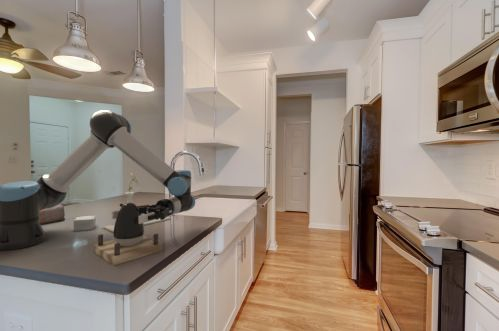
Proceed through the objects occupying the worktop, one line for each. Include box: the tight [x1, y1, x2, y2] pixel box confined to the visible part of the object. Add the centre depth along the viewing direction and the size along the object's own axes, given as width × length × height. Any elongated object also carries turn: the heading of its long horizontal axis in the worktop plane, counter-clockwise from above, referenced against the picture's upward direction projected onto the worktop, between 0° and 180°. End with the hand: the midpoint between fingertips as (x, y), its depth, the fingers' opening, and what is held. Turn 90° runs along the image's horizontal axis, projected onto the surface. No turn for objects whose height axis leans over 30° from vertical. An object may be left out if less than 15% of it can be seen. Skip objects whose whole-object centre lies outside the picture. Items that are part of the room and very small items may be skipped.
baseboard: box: [101, 215, 172, 234], centre depth 127 cm, size 31×3×12 cm
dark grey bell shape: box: [112, 202, 145, 247], centre depth 90 cm, size 10×10×15 cm
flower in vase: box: [124, 172, 140, 203], centre depth 140 cm, size 13×11×25 cm
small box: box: [73, 215, 96, 232], centre depth 117 cm, size 8×8×5 cm
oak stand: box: [92, 233, 163, 266], centre depth 90 cm, size 17×17×6 cm
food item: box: [39, 203, 66, 225], centre depth 125 cm, size 14×8×10 cm, turn 153°
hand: (125, 217), depth 88 cm, fingers open, 13 cm apart
